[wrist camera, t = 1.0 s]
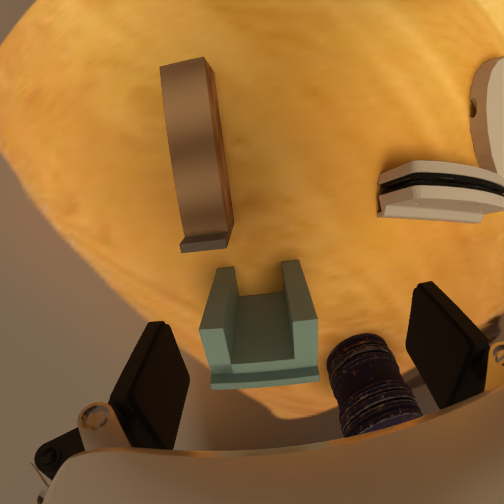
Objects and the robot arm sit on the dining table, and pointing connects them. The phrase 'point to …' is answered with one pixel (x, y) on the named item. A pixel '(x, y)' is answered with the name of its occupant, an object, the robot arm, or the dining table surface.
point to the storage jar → (369, 386)
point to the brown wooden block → (197, 154)
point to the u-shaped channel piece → (260, 333)
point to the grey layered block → (440, 192)
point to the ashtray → (489, 115)
